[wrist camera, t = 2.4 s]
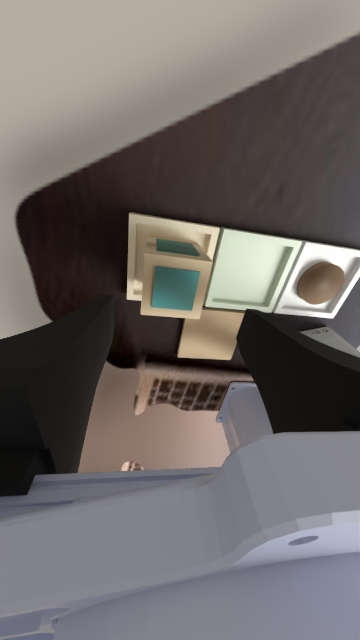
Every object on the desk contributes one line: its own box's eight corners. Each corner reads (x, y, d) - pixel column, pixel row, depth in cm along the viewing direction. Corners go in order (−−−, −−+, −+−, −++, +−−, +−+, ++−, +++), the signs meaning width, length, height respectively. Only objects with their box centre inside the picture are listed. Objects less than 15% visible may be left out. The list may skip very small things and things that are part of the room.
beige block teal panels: (188, 288, 21) (199, 320, 16) (144, 283, 20) (140, 315, 15) (197, 241, 19) (214, 260, 14) (147, 233, 18) (144, 251, 13)
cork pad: (229, 356, 28) (230, 359, 27) (177, 354, 26) (177, 357, 26) (245, 311, 24) (247, 313, 23) (186, 305, 23) (187, 308, 22)
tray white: (326, 313, 25) (333, 318, 24) (269, 307, 24) (274, 313, 23) (363, 250, 21) (374, 253, 20) (298, 239, 20) (306, 242, 19)
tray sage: (266, 307, 24) (271, 312, 23) (203, 301, 23) (205, 306, 22) (295, 238, 20) (302, 241, 19) (220, 226, 19) (224, 229, 18)
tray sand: (199, 301, 23) (201, 306, 22) (128, 294, 21) (126, 299, 20) (216, 226, 19) (220, 228, 18) (130, 212, 17) (129, 213, 16)
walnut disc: (324, 302, 24) (330, 306, 23) (289, 298, 23) (294, 302, 22) (345, 264, 22) (353, 267, 21) (308, 259, 21) (315, 262, 20)
